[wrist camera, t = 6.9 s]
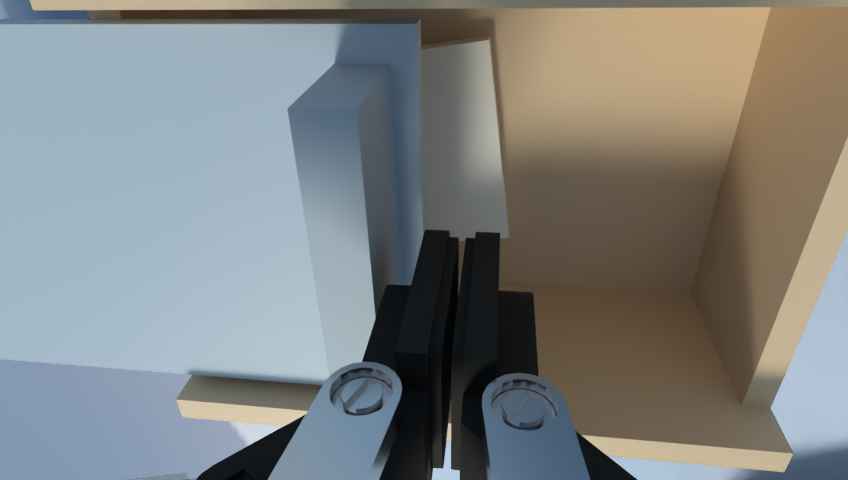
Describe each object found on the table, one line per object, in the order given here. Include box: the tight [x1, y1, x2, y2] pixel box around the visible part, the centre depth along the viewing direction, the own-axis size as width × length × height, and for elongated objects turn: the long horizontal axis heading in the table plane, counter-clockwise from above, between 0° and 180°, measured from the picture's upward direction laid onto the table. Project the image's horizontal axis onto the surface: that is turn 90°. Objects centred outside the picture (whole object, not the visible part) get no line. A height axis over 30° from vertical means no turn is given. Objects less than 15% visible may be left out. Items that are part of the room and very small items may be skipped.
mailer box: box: [30, 0, 848, 472], centre depth 17 cm, size 13×18×8 cm
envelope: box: [421, 35, 509, 241], centre depth 19 cm, size 7×4×1 cm, turn 9°
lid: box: [0, 18, 426, 385], centre depth 14 cm, size 11×18×4 cm, turn 91°
